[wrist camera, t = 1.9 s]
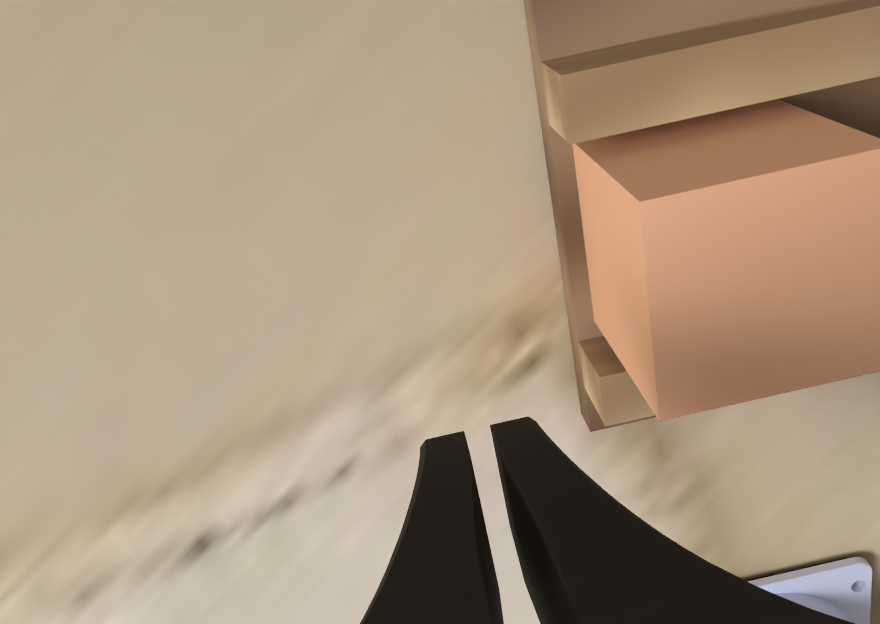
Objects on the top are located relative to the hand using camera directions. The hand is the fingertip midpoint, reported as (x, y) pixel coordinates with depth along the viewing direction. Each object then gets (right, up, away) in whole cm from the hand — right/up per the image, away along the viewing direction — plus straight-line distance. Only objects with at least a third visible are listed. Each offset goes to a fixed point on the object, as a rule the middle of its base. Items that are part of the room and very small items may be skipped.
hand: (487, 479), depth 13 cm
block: (+5, +5, +8) cm, 11 cm away
